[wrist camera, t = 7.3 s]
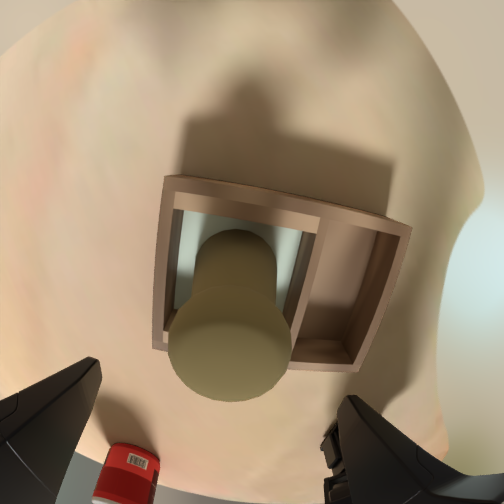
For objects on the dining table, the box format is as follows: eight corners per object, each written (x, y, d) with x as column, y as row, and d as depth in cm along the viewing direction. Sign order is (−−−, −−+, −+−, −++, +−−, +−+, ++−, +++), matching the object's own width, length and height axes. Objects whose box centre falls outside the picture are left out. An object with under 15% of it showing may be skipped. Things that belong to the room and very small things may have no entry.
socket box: (385, 216, 20) (412, 227, 16) (343, 344, 23) (357, 372, 19) (180, 174, 19) (164, 175, 15) (164, 321, 22) (152, 348, 18)
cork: (192, 228, 19) (135, 297, 8) (279, 229, 19) (320, 301, 9) (196, 305, 21) (162, 415, 10) (274, 307, 21) (298, 419, 10)
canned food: (101, 438, 28) (79, 494, 17) (147, 444, 28) (130, 509, 17) (125, 464, 30) (110, 515, 20) (169, 469, 30) (159, 526, 19)
